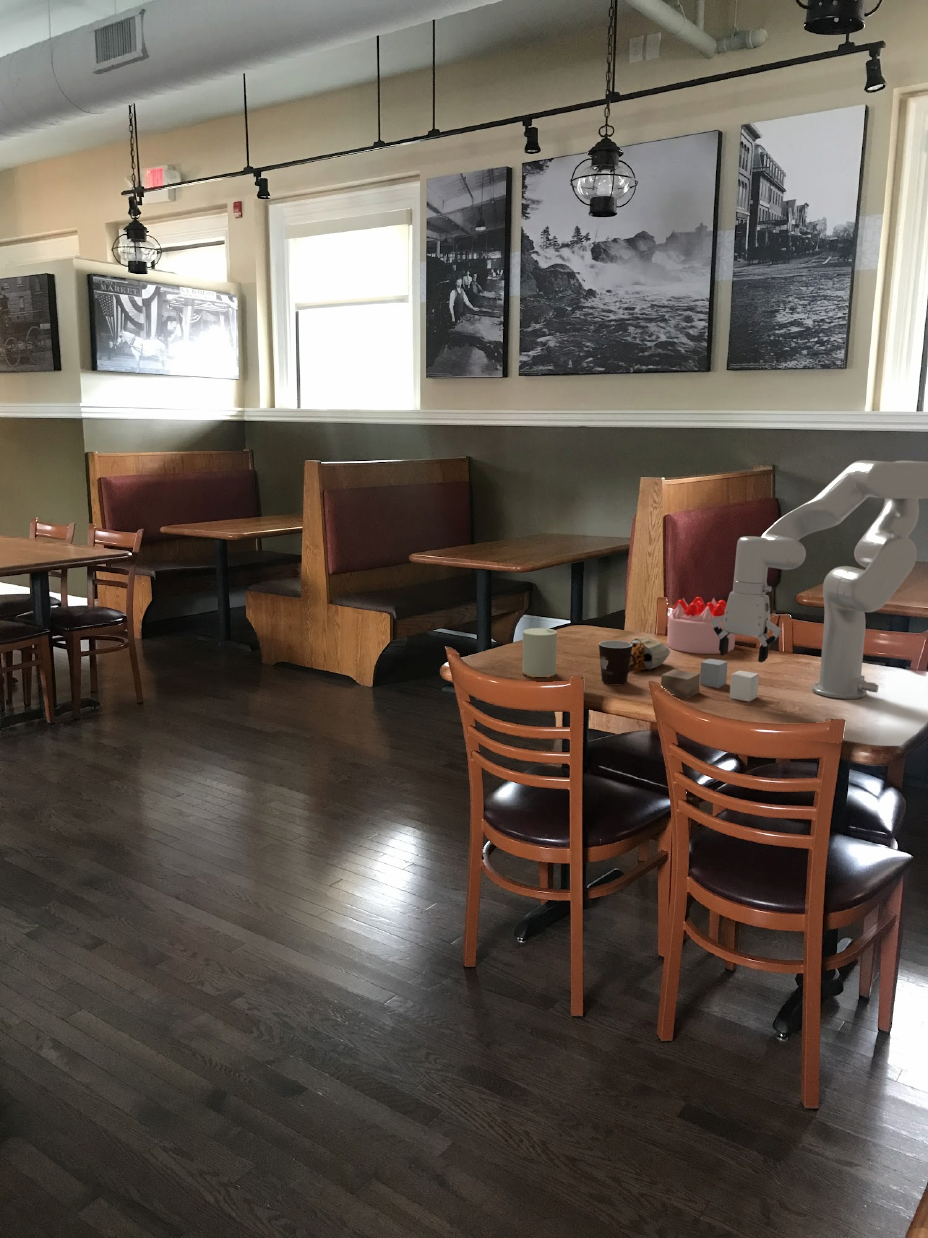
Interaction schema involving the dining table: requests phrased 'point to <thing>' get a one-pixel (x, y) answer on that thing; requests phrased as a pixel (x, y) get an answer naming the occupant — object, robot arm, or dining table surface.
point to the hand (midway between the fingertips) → (742, 658)
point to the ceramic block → (744, 685)
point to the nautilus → (648, 653)
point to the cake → (696, 627)
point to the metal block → (681, 683)
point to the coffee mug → (615, 661)
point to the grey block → (713, 673)
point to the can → (539, 651)
